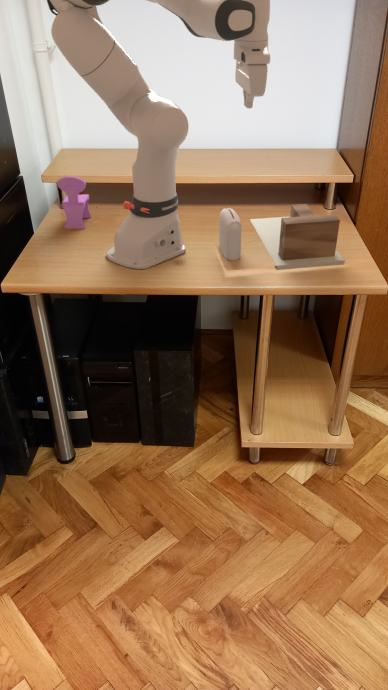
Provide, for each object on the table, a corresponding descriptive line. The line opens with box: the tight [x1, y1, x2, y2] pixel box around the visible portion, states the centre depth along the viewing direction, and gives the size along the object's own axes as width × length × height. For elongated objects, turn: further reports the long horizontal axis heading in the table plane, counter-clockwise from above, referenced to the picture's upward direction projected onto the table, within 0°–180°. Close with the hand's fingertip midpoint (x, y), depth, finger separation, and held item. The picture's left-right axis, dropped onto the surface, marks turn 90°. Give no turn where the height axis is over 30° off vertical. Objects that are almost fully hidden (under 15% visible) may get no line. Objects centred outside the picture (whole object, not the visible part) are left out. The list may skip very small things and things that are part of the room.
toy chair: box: [56, 175, 92, 230], centre depth 169 cm, size 8×9×15 cm
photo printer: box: [218, 207, 242, 261], centre depth 151 cm, size 10×4×12 cm, turn 11°
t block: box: [279, 203, 341, 260], centre depth 152 cm, size 12×14×10 cm
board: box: [249, 216, 345, 271], centre depth 160 cm, size 30×18×1 cm, turn 9°
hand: (248, 107), depth 159 cm, fingers closed
